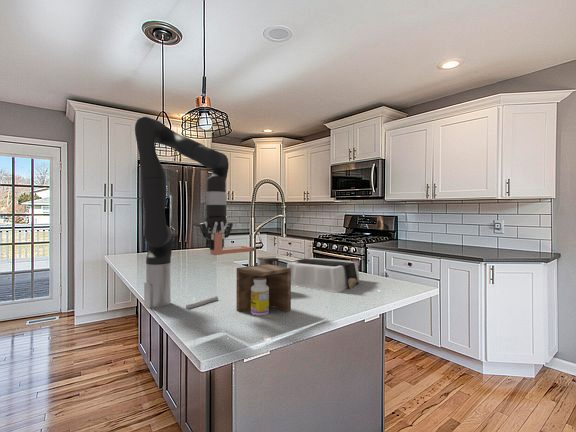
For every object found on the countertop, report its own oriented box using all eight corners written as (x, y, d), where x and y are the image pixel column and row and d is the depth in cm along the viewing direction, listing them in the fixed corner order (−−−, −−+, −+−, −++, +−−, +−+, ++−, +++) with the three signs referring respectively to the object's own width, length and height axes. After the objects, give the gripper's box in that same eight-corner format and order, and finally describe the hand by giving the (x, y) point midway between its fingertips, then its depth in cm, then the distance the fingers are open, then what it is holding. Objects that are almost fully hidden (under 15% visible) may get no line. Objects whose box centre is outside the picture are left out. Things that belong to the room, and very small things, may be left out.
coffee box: (276, 290, 158) (276, 257, 158) (279, 293, 152) (279, 258, 152) (257, 291, 155) (257, 257, 155) (259, 294, 149) (259, 259, 149)
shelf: (259, 319, 113) (259, 272, 113) (236, 310, 123) (236, 268, 123) (290, 311, 124) (290, 268, 123) (267, 303, 134) (267, 264, 134)
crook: (214, 255, 122) (214, 233, 122) (203, 253, 128) (203, 232, 128) (256, 251, 135) (256, 231, 135) (244, 249, 142) (244, 231, 142)
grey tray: (366, 284, 174) (366, 260, 174) (341, 297, 146) (341, 269, 146) (308, 277, 193) (308, 256, 193) (276, 287, 165) (276, 263, 165)
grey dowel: (185, 304, 127) (185, 309, 127) (188, 305, 126) (188, 309, 126) (215, 296, 140) (215, 300, 140) (218, 296, 139) (218, 300, 139)
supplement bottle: (248, 312, 122) (248, 277, 122) (265, 310, 125) (265, 276, 125) (254, 317, 116) (254, 281, 116) (271, 315, 119) (271, 279, 119)
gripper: (204, 203, 117) (204, 251, 117) (237, 204, 126) (237, 248, 126) (194, 203, 122) (194, 250, 122) (226, 204, 132) (226, 247, 132)
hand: (216, 249), depth 124 cm, fingers closed on crook, 3 cm apart
